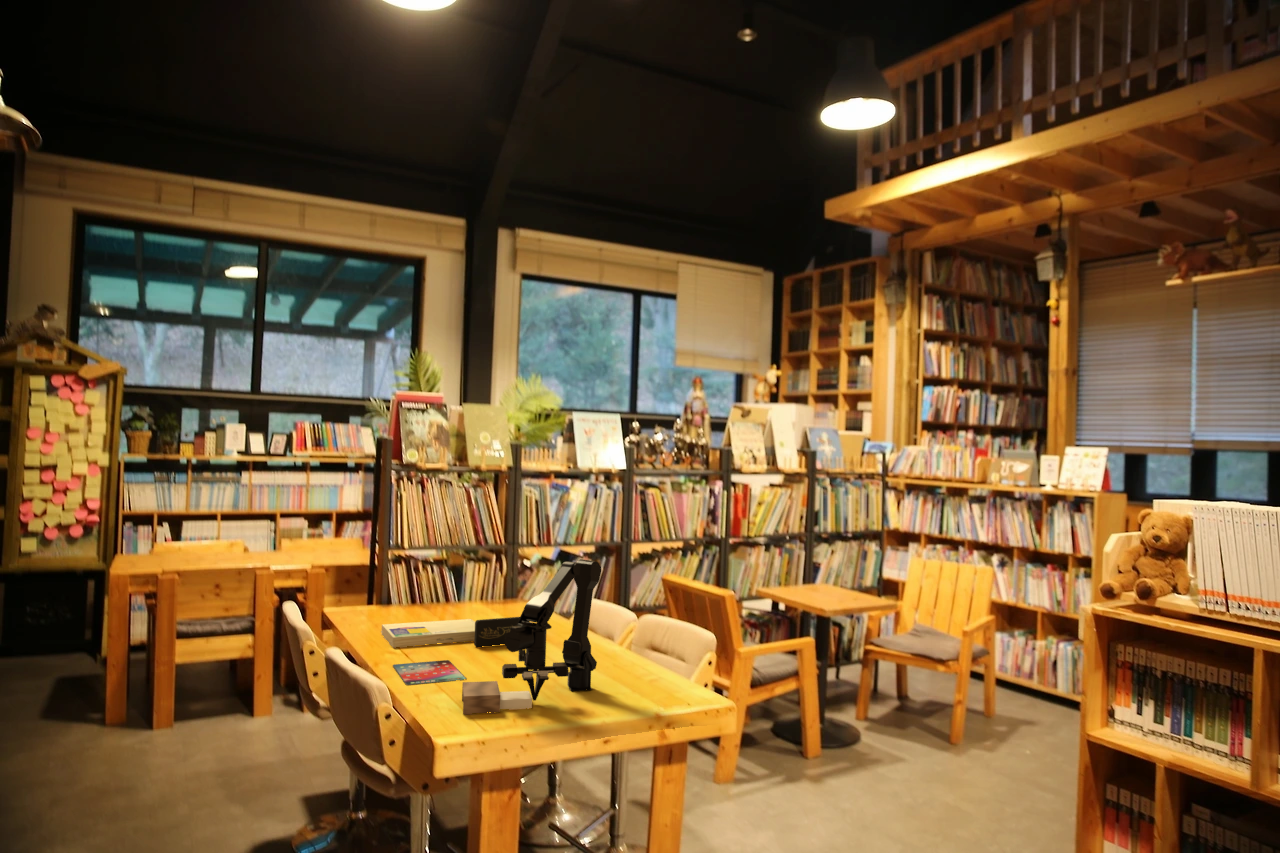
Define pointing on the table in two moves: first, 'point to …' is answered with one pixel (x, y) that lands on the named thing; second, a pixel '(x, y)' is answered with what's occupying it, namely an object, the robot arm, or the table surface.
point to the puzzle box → (429, 632)
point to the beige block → (515, 700)
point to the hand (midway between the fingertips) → (534, 700)
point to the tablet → (428, 672)
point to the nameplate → (493, 630)
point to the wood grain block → (480, 697)
